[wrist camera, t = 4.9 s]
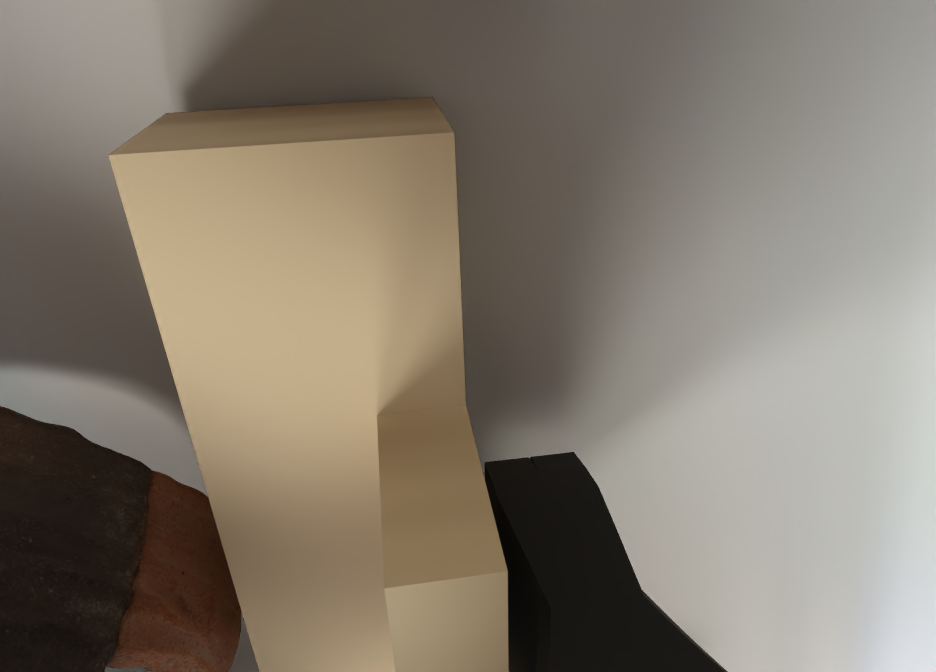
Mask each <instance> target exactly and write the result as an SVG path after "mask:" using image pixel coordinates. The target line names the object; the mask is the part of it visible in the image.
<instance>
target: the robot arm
mask: <svg viewBox="0 0 936 672" xmlns="http://www.w3.org/2000/svg"><path fill="white" fill-rule="evenodd" d="M485 483H486V487H487V491H488V495H489V499H490V503H491V507H492V511H493V515H494V519H495V523H496V527H497V531H498V535H499V539H500V542H501V546H502V550H503V554H504V558H505V562H506V566H507V570H508V670H509V672H727V671H726V670H725V669H724V668H723V667H722V666H721V665H719V664H718V663H717V662H716V661H715V660H714V659H713V658H712V657H711V656H709V655H708V654H707V653H706V652H705V651H704V650H703V649H702V648H701V647H700V646H699V645H697V644H696V643H695V642H694V641H693V640H692V639H691V638H690V637H689V636H688V635H687V634H686V633H685V632H684V631H683V630H682V629H681V628H680V627H678V626H677V625H676V624H675V623H674V622H673V621H672V620H671V619H670V618H669V617H668V616H667V615H666V614H665V613H664V612H663V611H662V610H661V609H660V608H659V607H658V606H657V605H656V604H655V603H654V602H653V601H652V600H651V599H650V598H649V597H648V596H647V595H646V594H645V593H644V592H643V590H642V589H641V587H640V585H639V582H638V580H637V578H636V575H635V573H634V570H633V568H632V566H631V563H630V561H629V558H628V556H627V553H626V551H625V549H624V546H623V544H622V541H621V539H620V537H619V534H618V532H617V529H616V527H615V524H614V522H613V520H612V517H611V515H610V513H609V510H608V508H607V506H606V503H605V501H604V499H603V496H602V494H601V492H600V490H599V487H598V485H597V484H596V482H595V481H594V479H593V478H592V476H591V475H590V473H589V472H588V470H587V469H586V467H585V466H584V465H583V464H582V462H581V461H580V460H579V458H578V457H577V456H576V454H575V453H574V452H570V453H561V454H553V455H544V456H536V457H531V458H530V459H529V458H528V457H527V458H519V459H510V460H502V461H493V462H485Z"/></svg>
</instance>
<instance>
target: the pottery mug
mask: <svg viewBox="0 0 936 672" xmlns="http://www.w3.org/2000/svg"><path fill="white" fill-rule="evenodd" d="M240 631H241V607H240V604H239V601H238V597H237V594H236V590H235V587H234V584H233V580H232V577H231V573H230V570H229V566H228V563H227V560H226V556H225V553H224V549H223V546H222V542H221V539H220V536H219V532H218V529H217V525H216V522H215V519H214V515H213V512H212V508H211V505H210V501H209V498H208V497H207V496H206V495H204V494H203V493H202V492H200V491H199V490H197V489H194V488H192V487H189V486H186V485H183V484H181V483H179V482H177V481H175V480H174V479H172V478H171V477H169V476H167V475H165V474H162V473H159V472H155V471H152V470H150V469H149V468H148V467H147V466H146V465H144V464H143V463H142V462H140V461H138V460H135V459H133V458H131V457H129V456H125V455H123V454H120V453H117V452H115V451H113V450H111V449H108V448H105V447H102V446H99V445H97V444H95V443H92V442H91V441H89V440H87V439H86V438H84V437H83V436H82V435H81V434H80V433H78V432H77V431H75V430H74V429H72V428H69V427H66V426H60V425H55V424H49V423H44V422H40V421H37V420H34V419H32V418H30V417H27V416H25V415H22V414H20V413H17V412H15V411H13V410H10V409H8V408H5V407H1V406H0V672H104V670H105V667H106V666H107V667H112V668H129V667H135V666H140V667H143V668H145V669H147V670H149V671H158V672H228V671H229V669H230V667H231V665H232V663H233V659H234V656H235V653H236V650H237V646H238V641H239V636H240Z"/></svg>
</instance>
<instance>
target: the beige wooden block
mask: <svg viewBox="0 0 936 672" xmlns="http://www.w3.org/2000/svg"><path fill="white" fill-rule="evenodd" d="M108 156H109V159H110V163H111V166H112V170H113V173H114V176H115V180H116V183H117V187H118V190H119V194H120V197H121V200H122V204H123V207H124V211H125V214H126V218H127V221H128V224H129V228H130V231H131V235H132V238H133V241H134V245H135V248H136V252H137V255H138V259H139V262H140V265H141V269H142V272H143V276H144V279H145V282H146V286H147V289H148V293H149V296H150V300H151V303H152V306H153V310H154V313H155V317H156V320H157V324H158V327H159V330H160V334H161V337H162V341H163V344H164V347H165V351H166V354H167V358H168V361H169V365H170V368H171V371H172V375H173V378H174V382H175V385H176V389H177V392H178V395H179V399H180V402H181V406H182V409H183V412H184V416H185V419H186V423H187V426H188V430H189V433H190V436H191V440H192V443H193V447H194V450H195V454H196V457H197V460H198V464H199V467H200V471H201V474H202V477H203V481H204V484H205V488H206V491H207V495H208V498H209V501H210V505H211V508H212V512H213V515H214V519H215V522H216V525H217V529H218V532H219V536H220V539H221V542H222V546H223V549H224V553H225V556H226V560H227V563H228V566H229V570H230V573H231V577H232V580H233V584H234V587H235V590H236V594H237V597H238V601H239V604H240V607H241V611H242V614H243V618H244V621H245V625H246V628H247V631H248V635H249V638H250V642H251V645H252V648H253V652H254V655H255V659H256V662H257V666H258V669H259V672H508V570H507V566H506V562H505V558H504V554H503V550H502V546H501V542H500V539H499V535H498V531H497V527H496V523H495V519H494V515H493V511H492V507H491V503H490V499H489V495H488V491H487V487H486V483H485V479H484V475H483V471H482V467H481V463H480V459H479V455H478V451H477V447H476V443H475V439H474V435H473V431H472V427H471V423H470V419H469V415H468V411H467V407H466V393H465V370H464V347H463V323H462V300H461V277H460V253H459V230H458V207H457V183H456V160H455V137H454V131H453V129H452V128H451V126H450V125H449V123H448V121H447V120H446V118H445V116H444V115H443V113H442V111H441V110H440V108H439V107H438V105H437V103H436V102H435V100H434V98H433V97H429V98H412V99H396V100H379V101H362V102H345V103H328V104H312V105H295V106H278V107H261V108H244V109H228V110H211V111H194V112H177V113H166V114H165V115H163V116H162V117H161V118H159V119H158V120H156V121H155V122H154V123H152V124H151V125H149V126H148V127H147V128H145V129H144V130H142V131H141V132H140V133H138V134H137V135H136V136H134V137H133V138H131V139H130V140H129V141H127V142H126V143H124V144H123V145H122V146H120V147H119V148H117V149H116V150H115V151H113V152H112V153H111V154H109V155H108Z"/></svg>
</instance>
